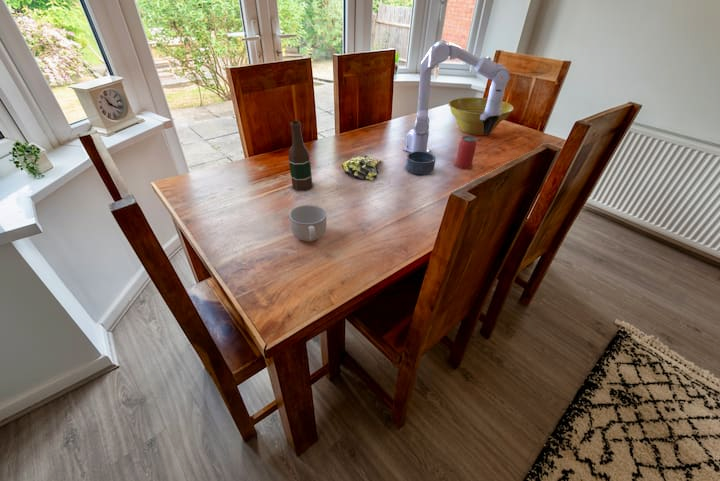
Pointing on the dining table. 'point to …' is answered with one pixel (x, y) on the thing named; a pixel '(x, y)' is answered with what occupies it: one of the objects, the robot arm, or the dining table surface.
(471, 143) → the beer can
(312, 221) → the teacup
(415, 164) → the bowl
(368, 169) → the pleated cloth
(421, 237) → the dining table surface
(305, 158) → the beer bottle
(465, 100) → the planter bowl
